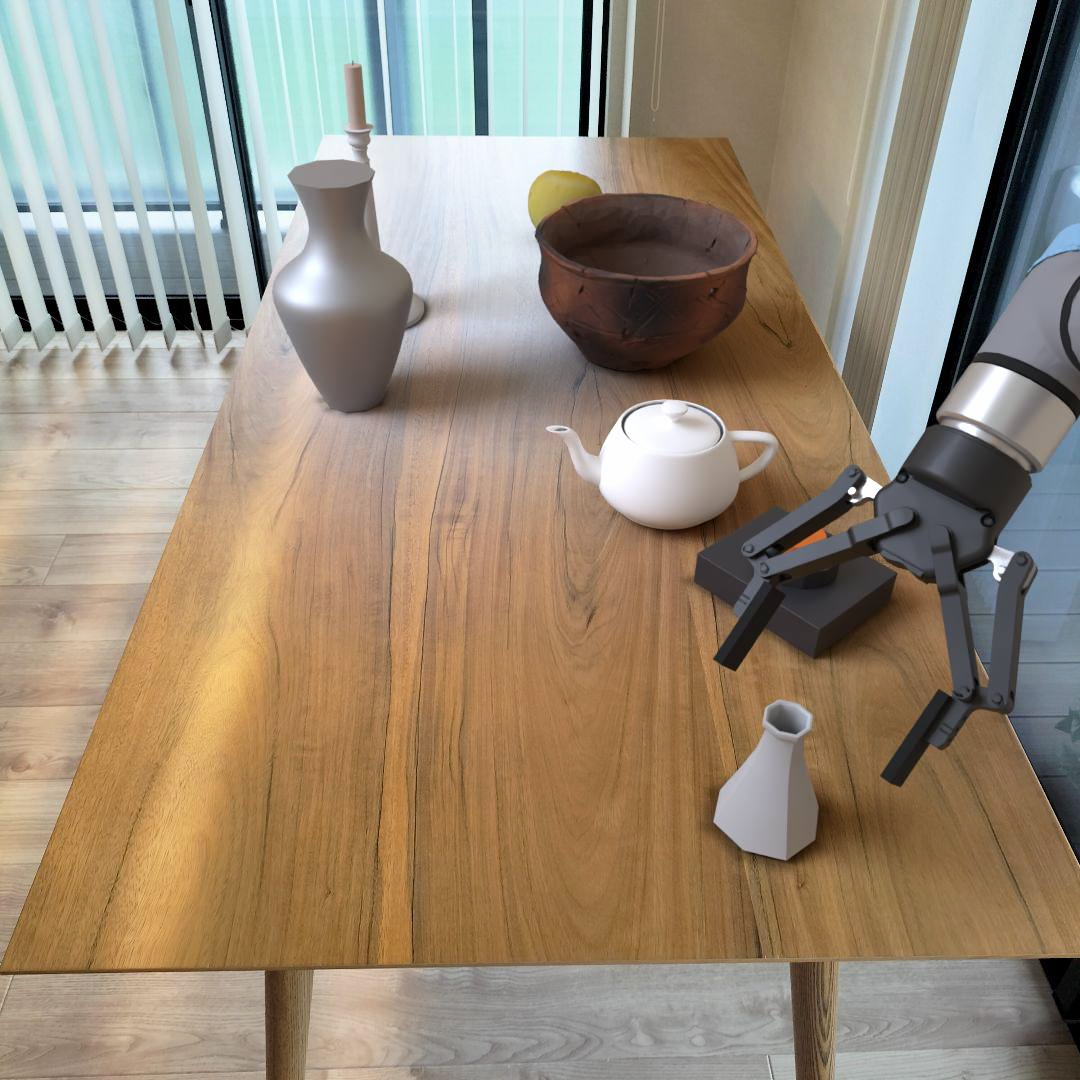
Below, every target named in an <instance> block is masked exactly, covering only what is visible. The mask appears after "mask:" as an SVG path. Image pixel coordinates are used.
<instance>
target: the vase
mask: <svg viewBox="0 0 1080 1080" xmlns="http://www.w3.org/2000/svg"><path fill="white" fill-rule="evenodd" d="M375 174H376V171H375V169H373V168H372V167H371V166H370V167H369V166H368V165H367V164H366V163H361V162H355V161H351V160H350V159H344V158H342V159H341V158H340V159H339V158H338V159H321V160H320V159H319V160H314V161H310V162H305V163H303V164H300V165H296V166H294V167H293V169H292V170H290V172H289V173H288V174H287V175H286V176H287V178H288V180H289V182H290V183H291V185H292V187H293V189H294V190H295V193H296V194H297V196H298V199H299V201H300V203H301V205H302V207H303V210H304V213H305V215H306V218H307V224H308V233H307V234H308V235H307V239H306V242H305V244H304V247H303V248H302V250H301V252H299V254H297V255H295V257H293V258H292V259H291V260H290V261H288V262H287V263H286V264H285V265H284V266H283V267H282V268H281V269H280V270H279V272H278V273H277V274H276V276H275V278H274V280H273V283H272V291H271V293H272V300H273V303H274V307H275V310H276V312H277V315H278V317H279V319H280V321H281V324H282V325H283V328H284V330H285V332H286V334H287V336H288V338H289V340H290V343H291V344H292V346H293V348H294V351H295V352H296V355H297V357H298V358H299V361H300V363H301V364H302V366H303V368H304V369H305V372H306V373H307V375H308V376H309V378H310V380H311V382H312V383H313V385H314V386H315V388H316V390H317V392H318V393H319V395H320V396H321V397H322V399H323V401H324V402H325V403H326V404H327V406H328V407H329V408H330V409H334V410H337V411H341V412H345V413H350V412H351V413H352V412H353V413H354V412H363V411H367V410H369V409H371V408H374V407H376V406H378V405H380V404H382V401H383V398H384V396H385V394H386V391H387V389H388V386H389V384H390V382H391V379H392V376H393V374H394V370H395V368H396V364H397V362H398V358H399V355H400V352H401V349H402V344H403V341H404V337H405V333H406V329H407V328H406V325H407V321H408V317H409V313H410V309H411V304H412V298H413V293H414V286H413V285H414V284H413V280H412V277H411V274H410V272H409V271H408V269H407V268H406V267H405V266H404V265H403V264H402V263H401V262H400V261H399V260H398V259H396V258H394V257H393V256H391V255H390V254H388V253H386V252H385V251H383V250H382V249H381V250H379V249H378V248H377V247H376V246H375V245H374V244H373V242H372V241H371V239H370V237H369V236H368V234H367V231H366V228H365V222H364V214H365V206H366V202H367V198H368V193H369V189H370V186H371V183H372V184H373V180H374V177H375Z"/></svg>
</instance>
